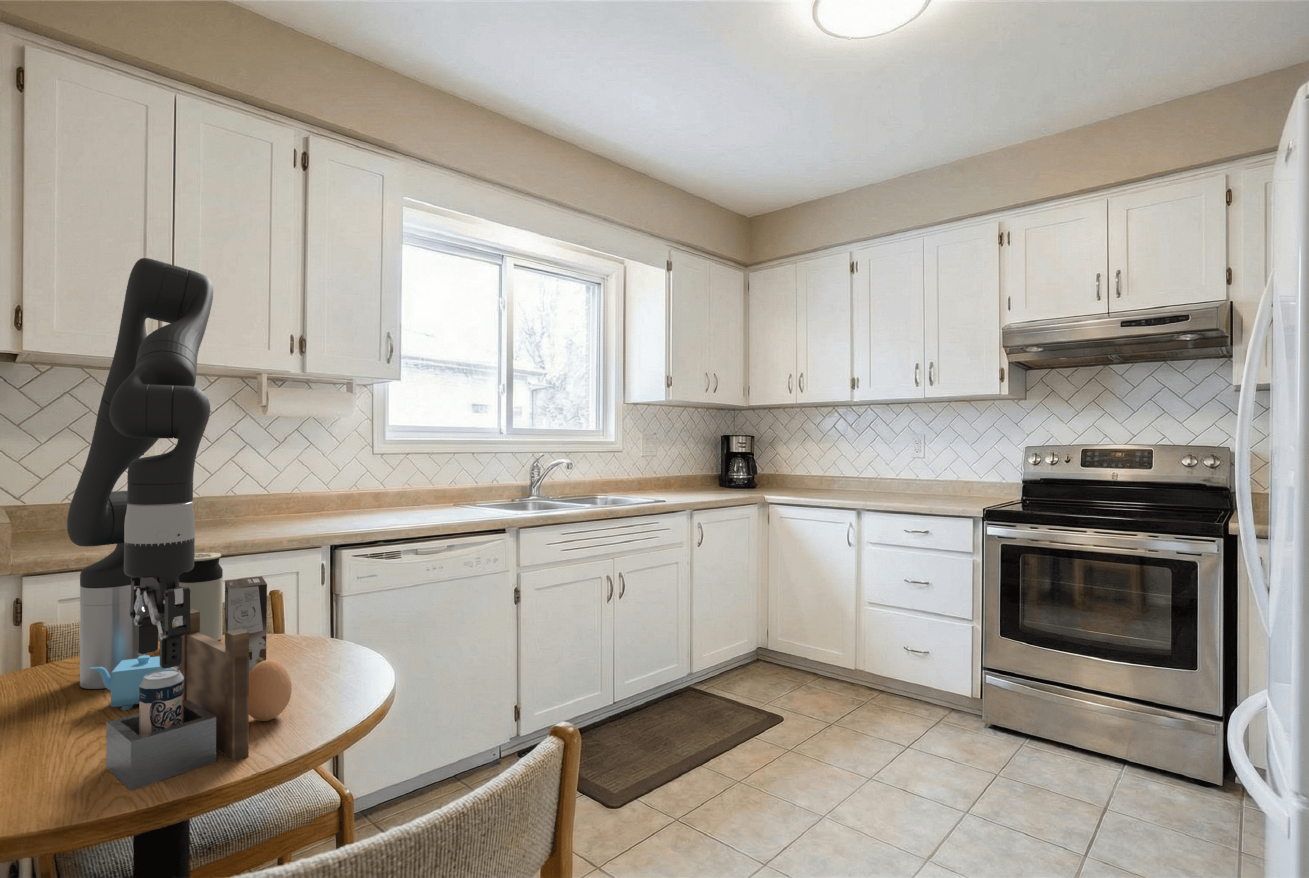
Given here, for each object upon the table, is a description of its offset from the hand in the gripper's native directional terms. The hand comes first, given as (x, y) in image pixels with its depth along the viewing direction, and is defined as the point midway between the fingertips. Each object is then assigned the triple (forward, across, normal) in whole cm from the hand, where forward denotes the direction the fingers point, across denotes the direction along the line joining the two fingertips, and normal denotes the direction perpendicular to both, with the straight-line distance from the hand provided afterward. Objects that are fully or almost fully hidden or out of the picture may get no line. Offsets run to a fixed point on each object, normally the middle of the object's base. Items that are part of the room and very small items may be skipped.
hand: (158, 659), depth 90 cm
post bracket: (+14, 0, 0) cm, 14 cm away
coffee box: (+15, +31, -23) cm, 41 cm away
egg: (+14, +4, -15) cm, 21 cm away
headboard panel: (+14, +3, -7) cm, 16 cm away
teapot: (+15, +27, -5) cm, 31 cm away
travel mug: (+15, +55, -24) cm, 62 cm away
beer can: (+14, 0, 0) cm, 14 cm away
